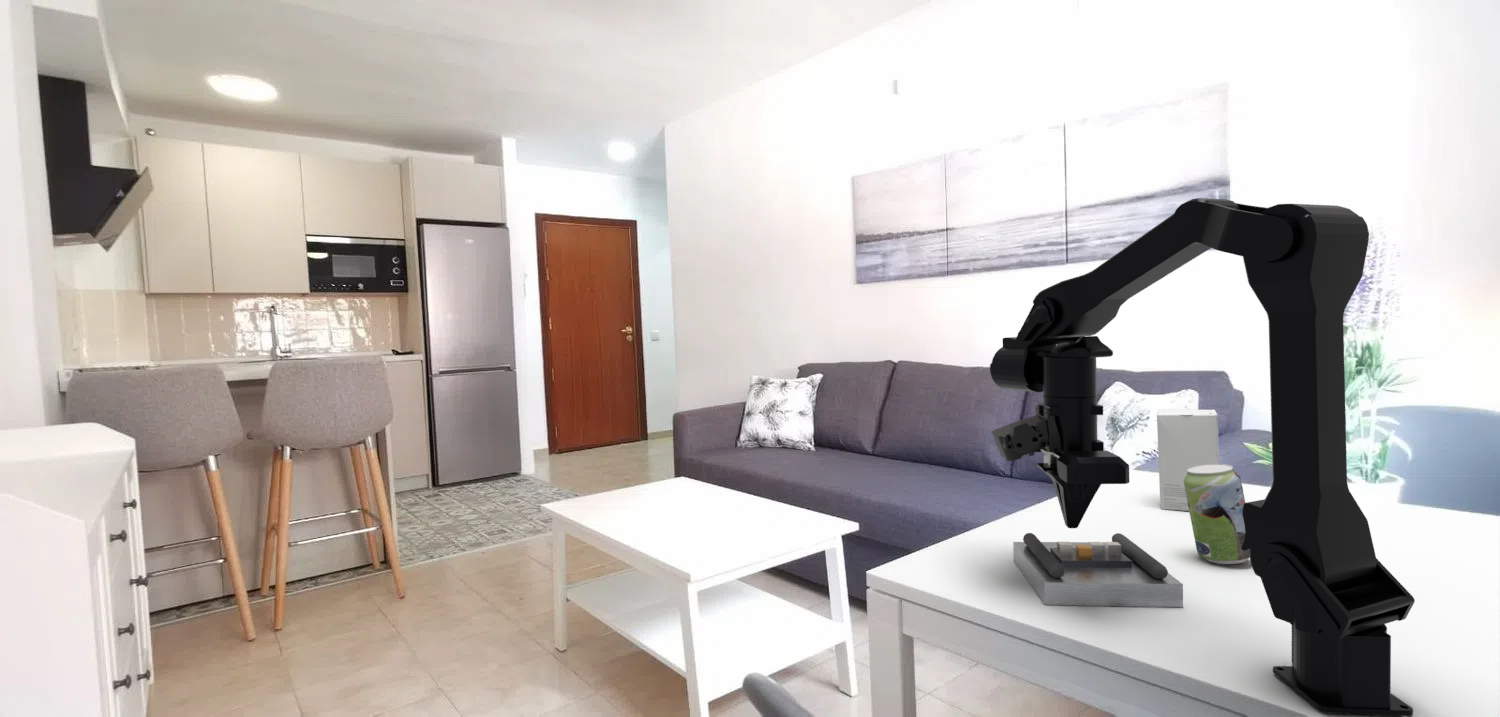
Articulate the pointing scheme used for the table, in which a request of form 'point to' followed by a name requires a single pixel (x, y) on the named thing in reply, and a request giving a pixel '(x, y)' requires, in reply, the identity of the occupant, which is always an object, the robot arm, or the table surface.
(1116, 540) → the dark grey rounded rod
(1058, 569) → the dark grey rounded bar
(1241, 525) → the beverage can
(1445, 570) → the table surface
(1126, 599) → the breaker panel
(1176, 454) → the skincare box
